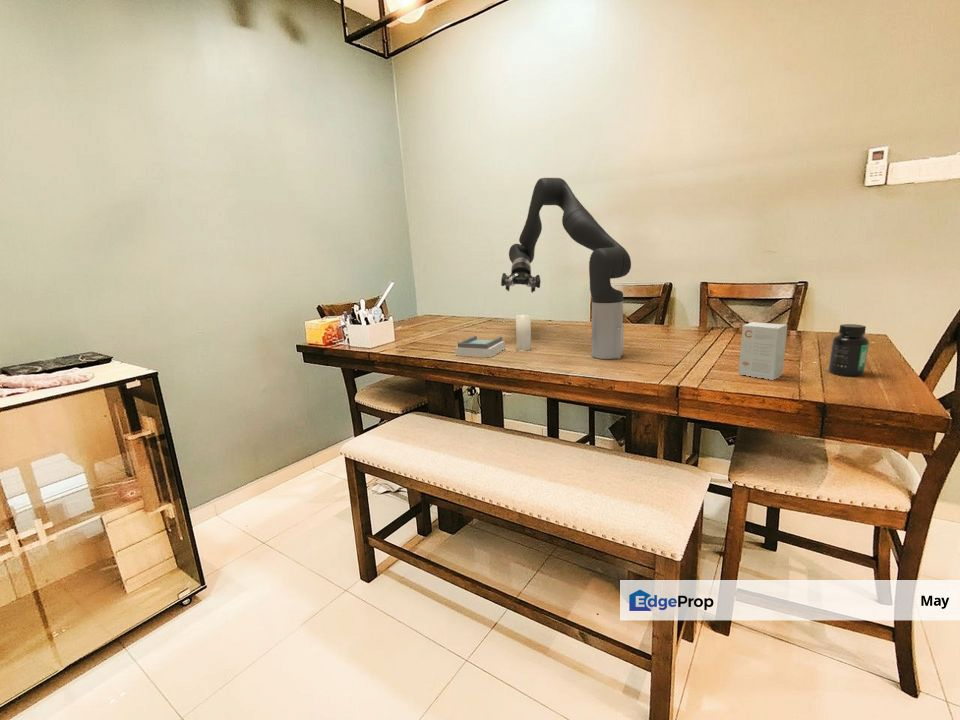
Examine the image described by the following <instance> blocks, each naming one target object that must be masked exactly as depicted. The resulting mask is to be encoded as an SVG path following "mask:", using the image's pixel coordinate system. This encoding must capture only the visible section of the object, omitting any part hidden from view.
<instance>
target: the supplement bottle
mask: <svg viewBox="0 0 960 720" xmlns="http://www.w3.org/2000/svg"><path fill="white" fill-rule="evenodd" d="M866 328H867V327H866V325H863V324H856V323H855V324H854V323H848V324H847V323H846V324H840V326H839V330H838V333H839V334H837V335H836V336H834V337H833V339H832V342H831V350H830V357H829V364H828V371H829V372H831V374H832V373H833V374H832V375H836V374H837V376H840V375H841V376H842V377H849V376H851V377H850V378H854V377H856V378H857V377H861V376H863V375H864V374H865V369H866V364H867V356H868V352H869V351H868V350H869V346H870V345H869V344H870V342H869V341H870V340H869V339H868V337H866V336H864V335H865V334H866ZM841 376H840V377H841Z"/></svg>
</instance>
